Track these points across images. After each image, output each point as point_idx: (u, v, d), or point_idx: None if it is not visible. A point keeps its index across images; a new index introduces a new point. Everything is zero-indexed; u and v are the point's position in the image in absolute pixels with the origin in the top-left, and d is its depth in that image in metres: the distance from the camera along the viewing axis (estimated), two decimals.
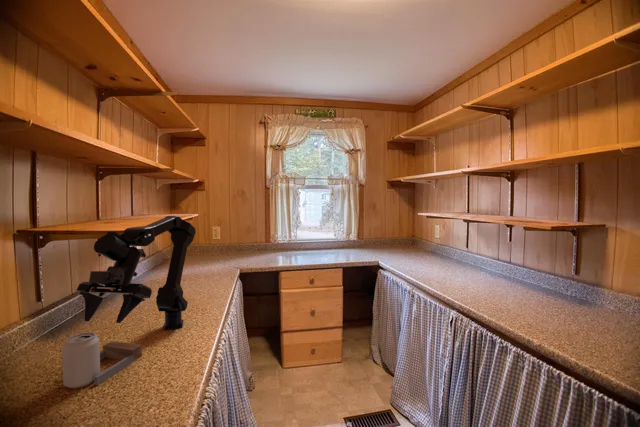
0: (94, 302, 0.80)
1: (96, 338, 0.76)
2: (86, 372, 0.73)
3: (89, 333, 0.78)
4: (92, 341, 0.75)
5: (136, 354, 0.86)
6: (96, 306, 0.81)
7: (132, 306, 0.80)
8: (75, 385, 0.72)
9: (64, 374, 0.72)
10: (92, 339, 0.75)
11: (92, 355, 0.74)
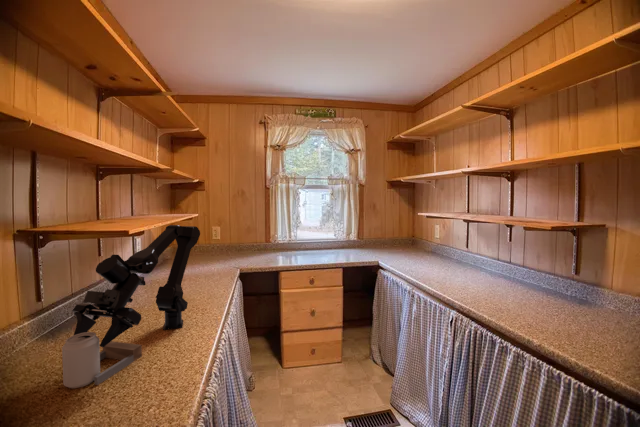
0: (85, 324, 0.81)
1: (96, 338, 0.76)
2: (86, 372, 0.73)
3: (89, 333, 0.78)
4: (92, 341, 0.75)
5: (136, 354, 0.86)
6: (86, 329, 0.81)
7: (119, 331, 0.79)
8: (75, 385, 0.72)
9: (64, 374, 0.72)
10: (92, 339, 0.75)
11: (92, 355, 0.74)
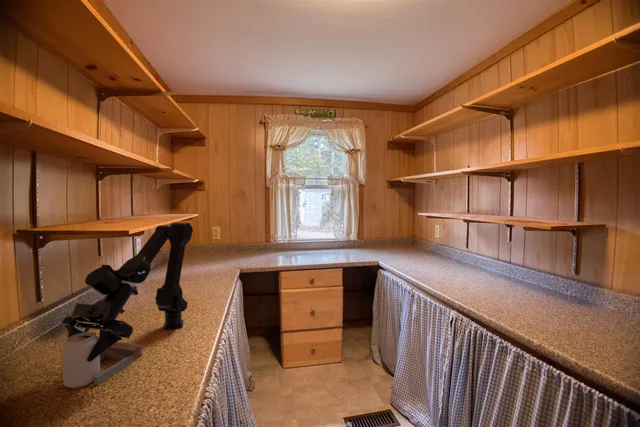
0: None
1: (96, 338, 0.76)
2: (86, 372, 0.73)
3: (89, 333, 0.78)
4: (92, 341, 0.75)
5: (136, 354, 0.86)
6: None
7: (107, 344, 0.77)
8: (75, 385, 0.72)
9: (64, 374, 0.72)
10: (92, 339, 0.75)
11: None
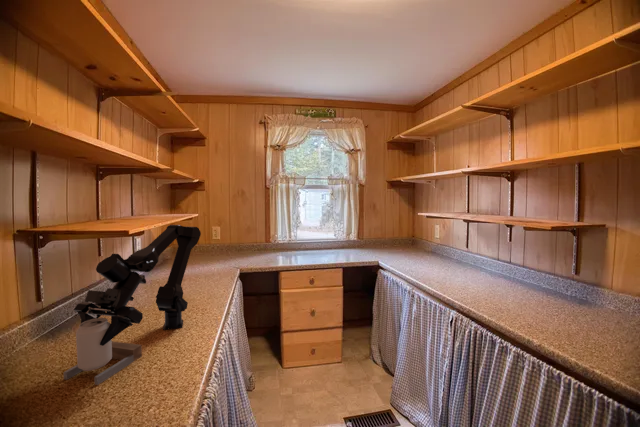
0: None
1: (108, 323, 0.80)
2: (99, 356, 0.76)
3: (101, 319, 0.81)
4: (104, 326, 0.78)
5: (136, 354, 0.86)
6: None
7: (119, 329, 0.80)
8: (89, 367, 0.75)
9: (78, 357, 0.75)
10: (104, 324, 0.78)
11: None
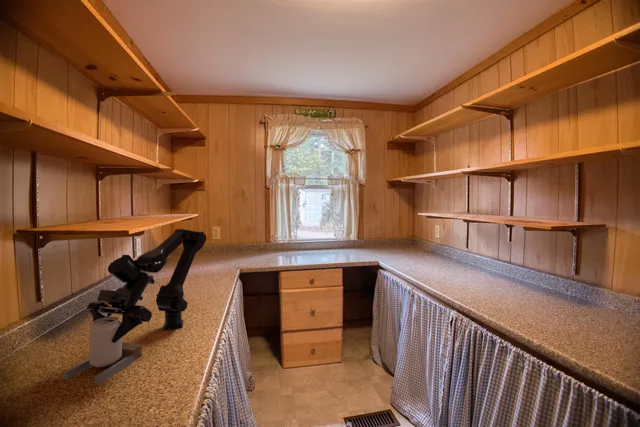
0: None
1: (119, 322, 0.83)
2: (110, 353, 0.80)
3: (112, 317, 0.84)
4: (116, 324, 0.81)
5: (136, 354, 0.86)
6: None
7: (129, 327, 0.83)
8: (100, 364, 0.78)
9: (90, 354, 0.79)
10: (116, 322, 0.82)
11: None
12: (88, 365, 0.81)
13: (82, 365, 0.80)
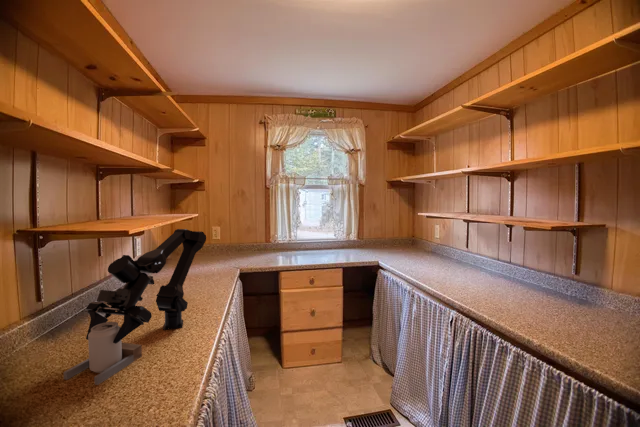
0: (98, 322, 0.85)
1: (118, 327, 0.83)
2: (110, 358, 0.79)
3: (111, 323, 0.84)
4: (115, 330, 0.81)
5: (136, 354, 0.86)
6: None
7: (131, 328, 0.83)
8: (100, 370, 0.78)
9: (90, 359, 0.79)
10: (115, 328, 0.81)
11: None
12: (88, 365, 0.81)
13: (82, 365, 0.80)
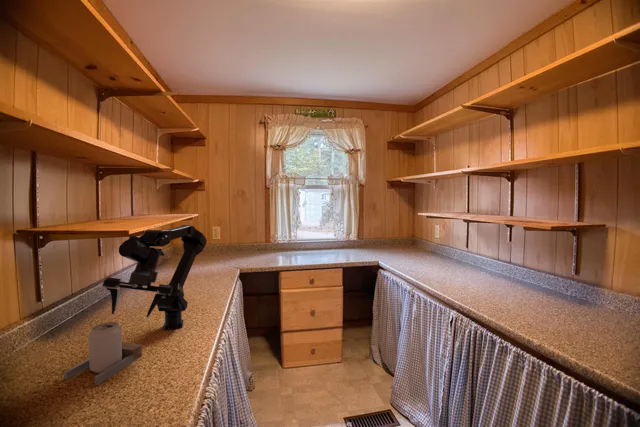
0: (117, 296, 0.88)
1: (118, 327, 0.83)
2: (110, 358, 0.79)
3: (112, 323, 0.84)
4: (115, 330, 0.81)
5: (136, 354, 0.86)
6: (117, 300, 0.89)
7: (156, 302, 0.93)
8: (100, 370, 0.78)
9: (90, 359, 0.79)
10: (115, 328, 0.81)
11: (115, 343, 0.81)
12: (88, 365, 0.81)
13: (82, 365, 0.80)
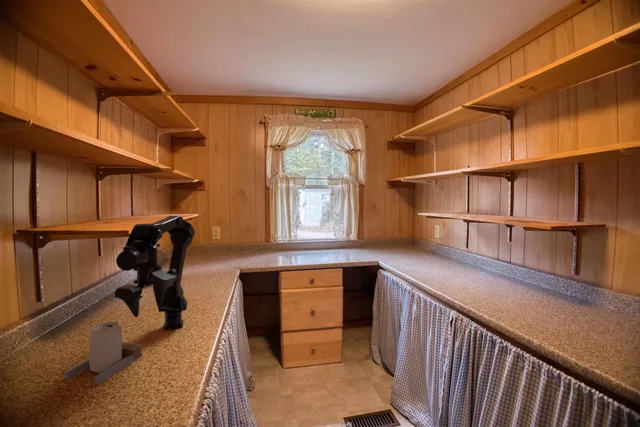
0: None
1: (119, 327, 0.83)
2: (110, 358, 0.80)
3: (112, 323, 0.84)
4: (115, 330, 0.81)
5: (136, 354, 0.86)
6: None
7: None
8: (100, 370, 0.78)
9: (90, 359, 0.79)
10: (115, 328, 0.81)
11: (116, 343, 0.81)
12: (88, 365, 0.81)
13: (82, 365, 0.80)
